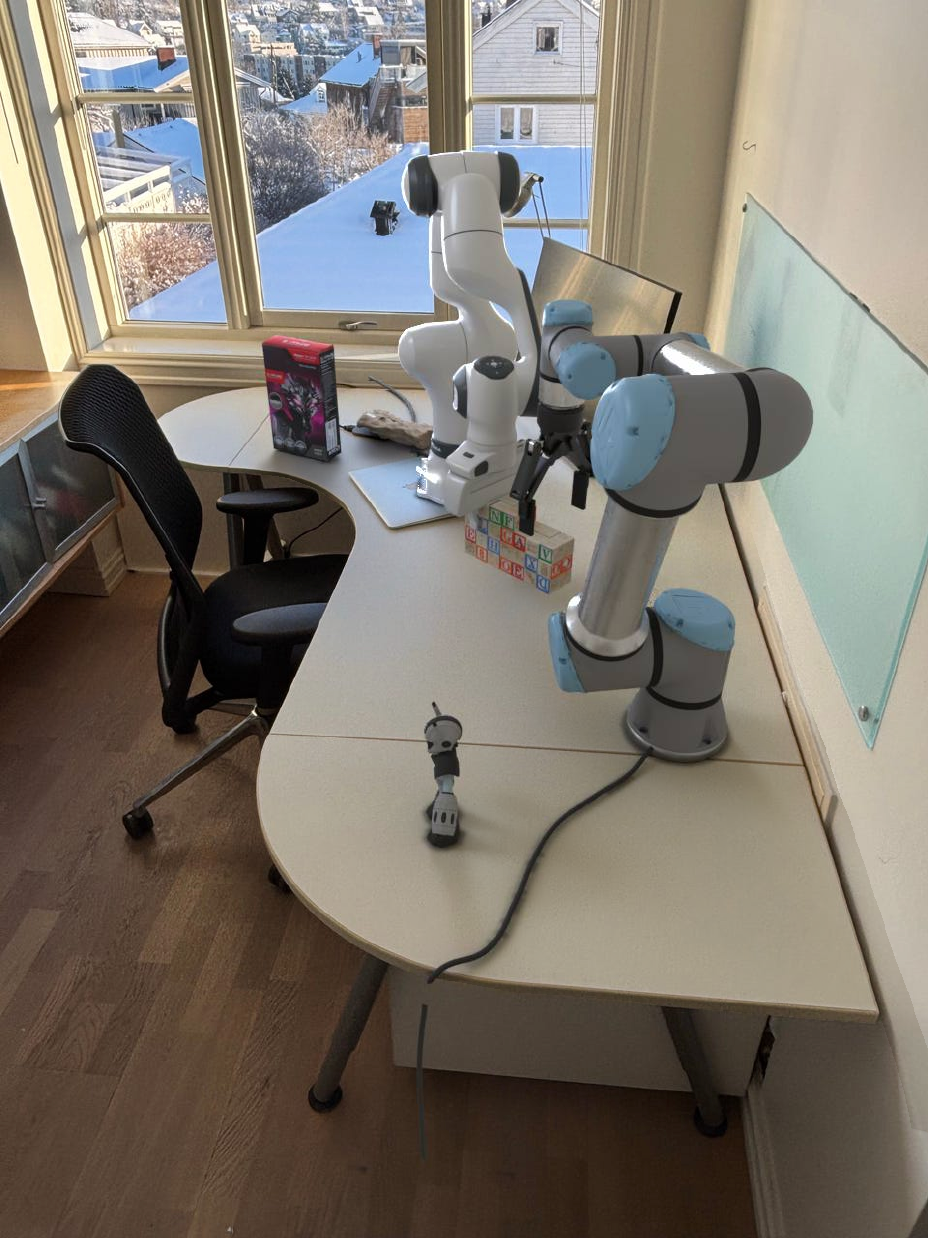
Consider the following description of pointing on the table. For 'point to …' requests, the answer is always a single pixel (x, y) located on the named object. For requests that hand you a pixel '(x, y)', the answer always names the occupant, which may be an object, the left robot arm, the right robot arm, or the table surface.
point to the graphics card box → (302, 396)
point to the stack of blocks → (520, 546)
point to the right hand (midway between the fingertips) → (552, 519)
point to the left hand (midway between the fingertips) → (489, 520)
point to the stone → (396, 428)
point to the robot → (443, 777)
